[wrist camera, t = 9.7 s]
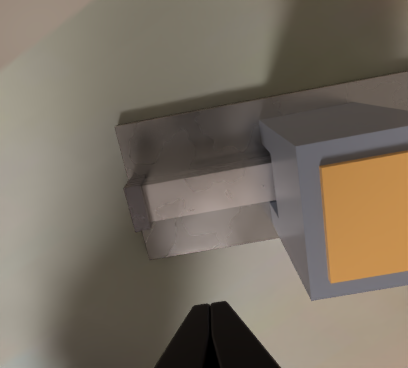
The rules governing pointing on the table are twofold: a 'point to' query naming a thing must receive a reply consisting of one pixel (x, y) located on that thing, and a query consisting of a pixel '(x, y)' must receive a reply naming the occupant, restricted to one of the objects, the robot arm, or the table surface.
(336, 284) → the grey slider block
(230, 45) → the table surface
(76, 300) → the table surface
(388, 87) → the rail
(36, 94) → the table surface
